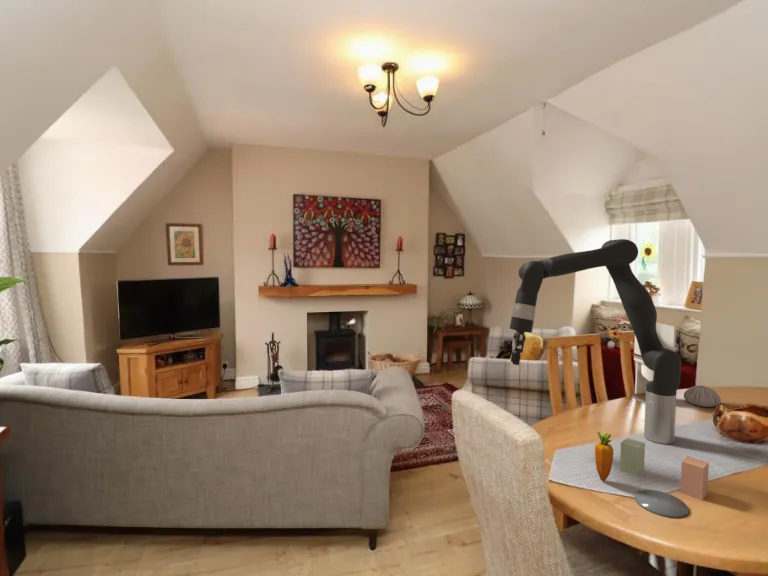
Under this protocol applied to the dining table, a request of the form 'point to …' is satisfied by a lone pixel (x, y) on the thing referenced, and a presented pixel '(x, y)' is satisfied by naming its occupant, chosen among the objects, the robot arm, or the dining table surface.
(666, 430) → the robot arm
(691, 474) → the terracotta block
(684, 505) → the slate coaster
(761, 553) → the dining table surface
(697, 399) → the sea urchin shell
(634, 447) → the sage block
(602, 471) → the carrot
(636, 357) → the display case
